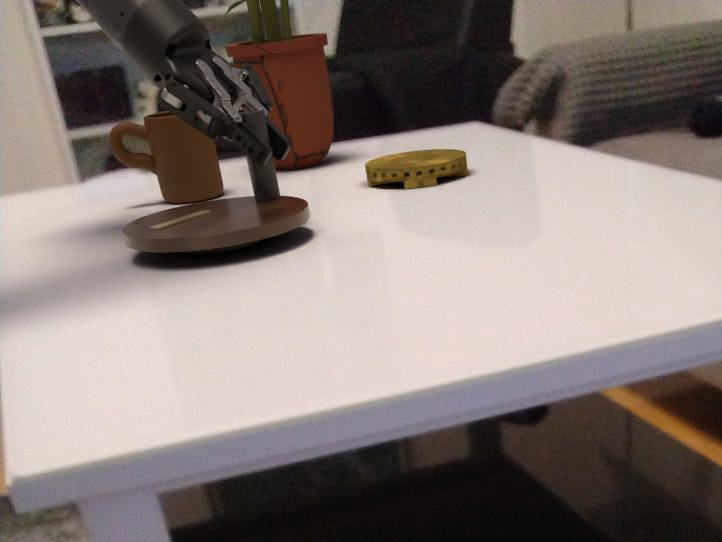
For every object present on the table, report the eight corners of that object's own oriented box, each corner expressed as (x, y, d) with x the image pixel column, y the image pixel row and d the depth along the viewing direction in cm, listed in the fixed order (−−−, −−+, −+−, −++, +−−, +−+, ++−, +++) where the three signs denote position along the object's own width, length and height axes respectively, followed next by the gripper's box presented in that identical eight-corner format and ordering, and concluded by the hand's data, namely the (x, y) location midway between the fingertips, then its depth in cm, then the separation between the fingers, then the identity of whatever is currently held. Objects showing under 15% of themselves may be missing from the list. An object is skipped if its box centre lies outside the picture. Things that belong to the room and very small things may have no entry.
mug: (127, 213, 121) (103, 125, 116) (126, 203, 127) (103, 119, 122) (228, 197, 123) (209, 110, 118) (222, 188, 129) (204, 105, 124)
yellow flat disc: (415, 166, 129) (413, 147, 127) (488, 170, 122) (486, 150, 121) (347, 186, 121) (344, 166, 120) (420, 191, 115) (417, 170, 113)
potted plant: (262, 161, 145) (201, -148, 126) (369, 150, 144) (325, -163, 124) (232, 185, 131) (158, -160, 111) (351, 173, 129) (298, -178, 110)
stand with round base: (103, 275, 94) (66, 149, 88) (161, 231, 109) (133, 121, 103) (294, 258, 92) (269, 129, 87) (326, 215, 107) (307, 102, 101)
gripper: (111, -6, 92) (251, 139, 94) (207, -17, 102) (332, 114, 104) (86, 64, 97) (219, 201, 99) (180, 47, 107) (299, 171, 109)
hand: (276, 155), depth 101 cm, fingers closed on stand with round base, 2 cm apart
